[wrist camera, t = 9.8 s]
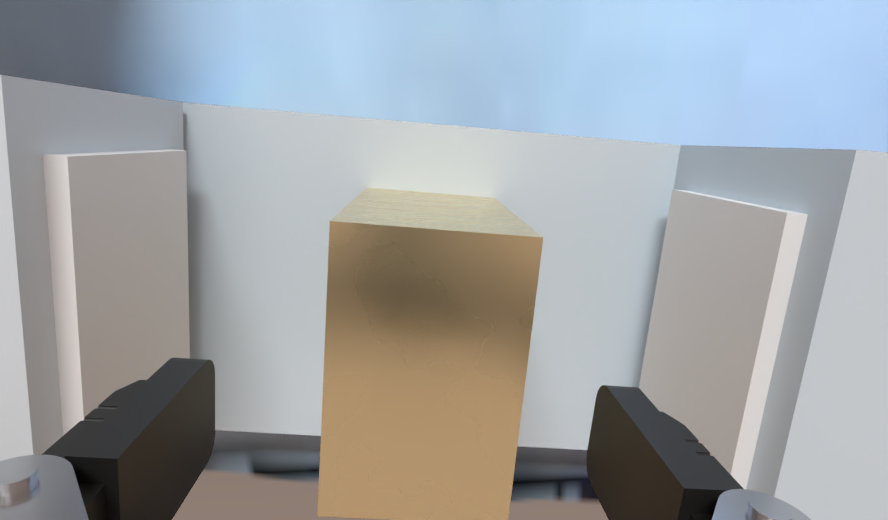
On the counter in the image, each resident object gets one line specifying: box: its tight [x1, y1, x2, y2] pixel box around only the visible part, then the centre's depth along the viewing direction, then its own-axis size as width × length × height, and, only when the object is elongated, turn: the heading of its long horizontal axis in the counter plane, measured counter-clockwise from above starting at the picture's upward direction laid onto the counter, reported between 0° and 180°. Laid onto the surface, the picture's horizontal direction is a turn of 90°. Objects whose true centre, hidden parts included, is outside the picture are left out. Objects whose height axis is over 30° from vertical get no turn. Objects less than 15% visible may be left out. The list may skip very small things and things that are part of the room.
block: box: [318, 187, 543, 520], centre depth 16 cm, size 4×7×8 cm, turn 175°
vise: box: [183, 102, 888, 520], centre depth 17 cm, size 24×12×10 cm, turn 85°
